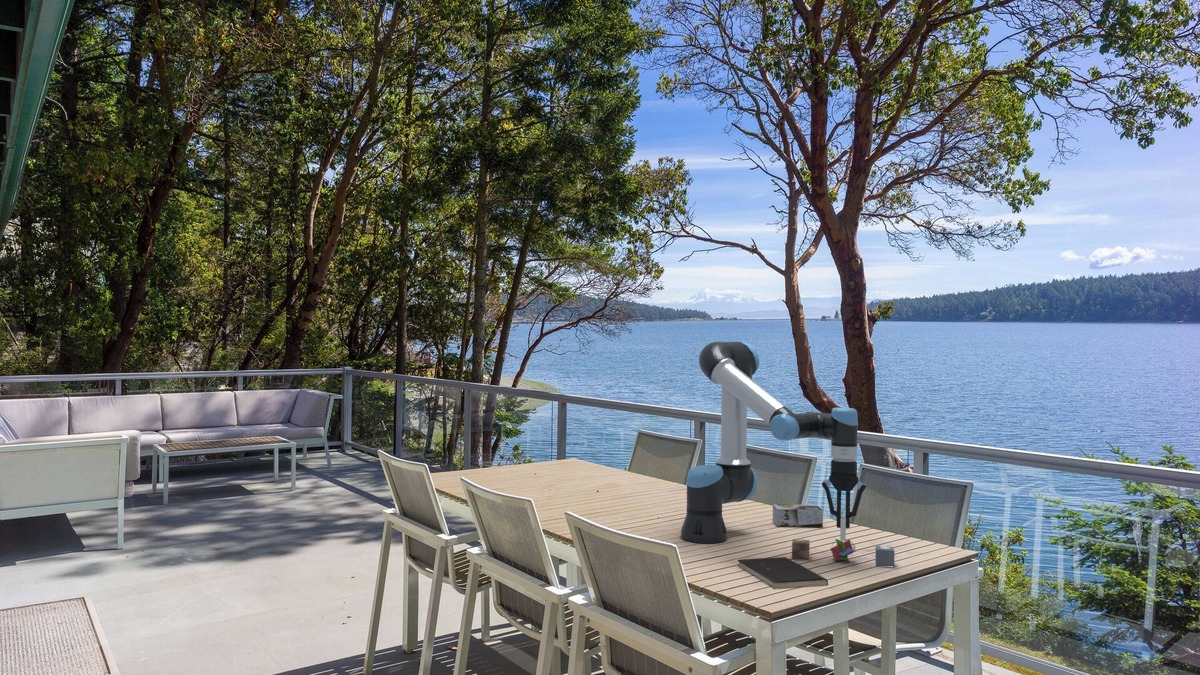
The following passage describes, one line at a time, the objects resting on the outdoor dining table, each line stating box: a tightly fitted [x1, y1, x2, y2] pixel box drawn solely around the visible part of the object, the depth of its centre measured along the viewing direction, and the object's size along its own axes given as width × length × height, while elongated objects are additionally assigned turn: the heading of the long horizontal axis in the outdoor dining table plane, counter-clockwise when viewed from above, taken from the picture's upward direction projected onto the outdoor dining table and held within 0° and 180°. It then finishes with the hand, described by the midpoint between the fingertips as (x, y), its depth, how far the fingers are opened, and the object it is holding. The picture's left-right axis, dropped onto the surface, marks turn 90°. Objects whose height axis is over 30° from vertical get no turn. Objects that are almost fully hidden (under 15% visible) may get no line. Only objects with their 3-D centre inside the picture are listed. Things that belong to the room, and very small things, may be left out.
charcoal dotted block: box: [874, 545, 895, 568], centre depth 250 cm, size 5×5×5 cm
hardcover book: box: [736, 556, 829, 589], centre depth 237 cm, size 16×23×2 cm
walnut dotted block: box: [791, 538, 811, 561], centre depth 256 cm, size 5×5×5 cm
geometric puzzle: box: [830, 538, 857, 563], centre depth 253 cm, size 7×7×8 cm
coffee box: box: [772, 503, 824, 528], centre depth 302 cm, size 9×6×16 cm
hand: (842, 538), depth 253 cm, fingers closed
